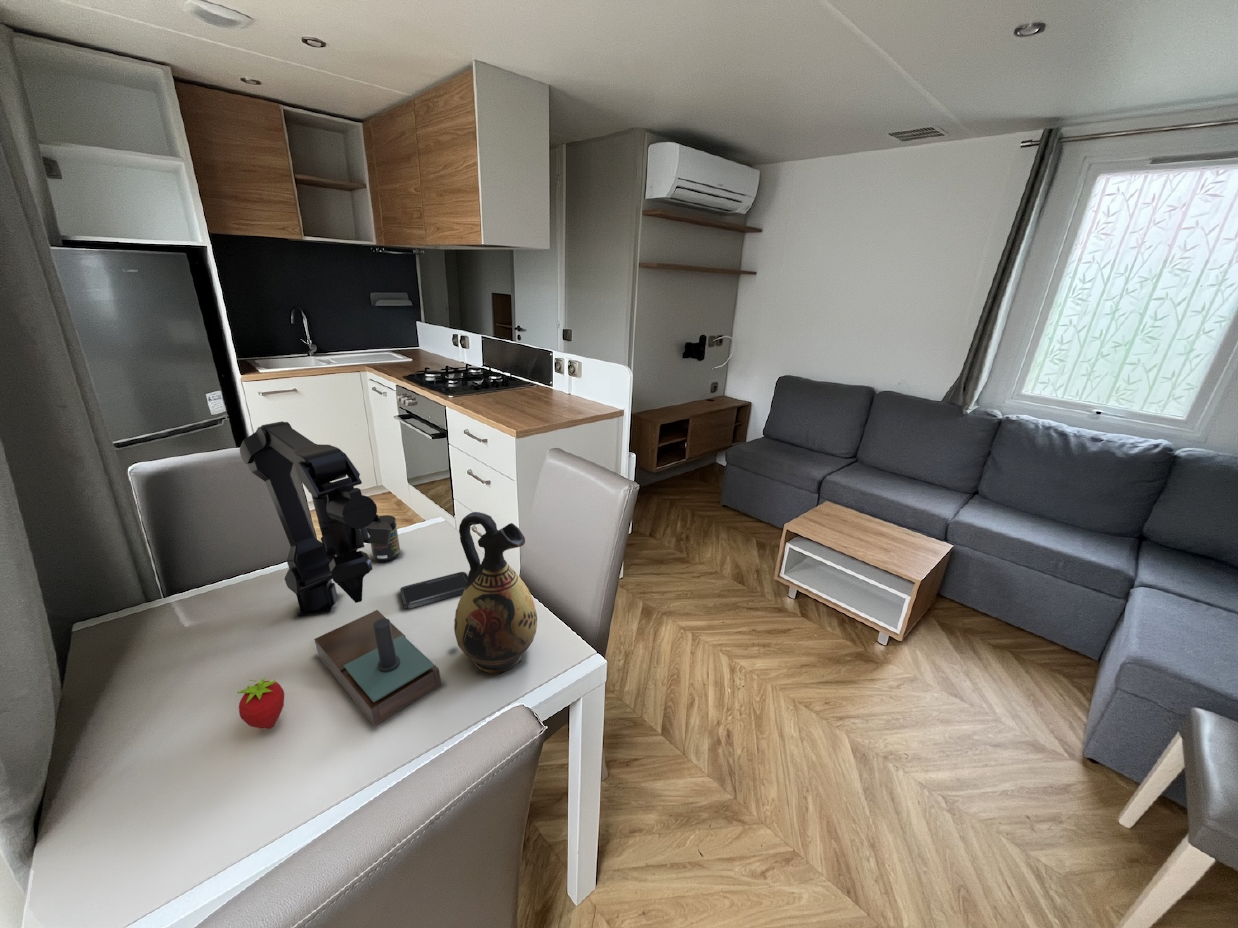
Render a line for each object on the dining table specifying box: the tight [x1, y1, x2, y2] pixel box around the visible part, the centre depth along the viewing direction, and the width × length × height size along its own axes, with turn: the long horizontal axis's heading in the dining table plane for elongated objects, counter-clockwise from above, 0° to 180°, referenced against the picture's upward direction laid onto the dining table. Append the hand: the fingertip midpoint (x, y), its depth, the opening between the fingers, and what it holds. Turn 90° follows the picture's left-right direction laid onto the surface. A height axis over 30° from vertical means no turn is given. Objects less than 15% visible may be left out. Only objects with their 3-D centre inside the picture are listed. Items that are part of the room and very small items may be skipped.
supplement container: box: [370, 514, 402, 563], centre depth 128 cm, size 7×7×10 cm
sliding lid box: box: [314, 609, 442, 727], centre depth 92 cm, size 24×12×4 cm, turn 49°
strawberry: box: [236, 676, 285, 730], centre depth 78 cm, size 6×8×10 cm
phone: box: [399, 571, 468, 609], centre depth 115 cm, size 8×1×15 cm
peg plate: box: [344, 617, 436, 702], centre depth 85 cm, size 12×11×9 cm
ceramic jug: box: [453, 511, 538, 675], centre depth 92 cm, size 17×15×30 cm
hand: (354, 591), depth 95 cm, fingers open, 9 cm apart
